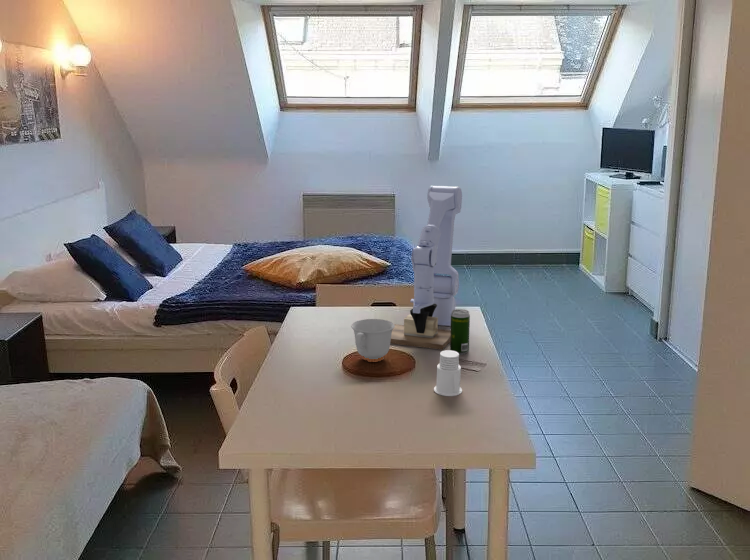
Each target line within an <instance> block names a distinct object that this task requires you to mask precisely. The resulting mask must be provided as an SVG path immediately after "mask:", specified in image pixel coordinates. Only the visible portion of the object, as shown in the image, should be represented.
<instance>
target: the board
mask: <svg viewBox="0 0 750 560" xmlns="http://www.w3.org/2000/svg"><path fill="white" fill-rule="evenodd" d="M393 324H394V325H395V327H394V328H393V329H392V334H391V341H390V345H391V344H392V345H402V346H409V347H418V348H424V349H425V348H426V349H432V350H433V349H434V350H441V351H444V349H445V348H446V347H447V346H448V345H449V344H450V334H451V329H443V328H438V333H437V334H436V335H435V336H434V337H433V338H427V337H419V336H410V335H404V324H397V323H393Z"/></svg>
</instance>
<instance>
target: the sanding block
mask: <svg viewBox="0 0 750 560" xmlns="http://www.w3.org/2000/svg"><path fill="white" fill-rule="evenodd" d="M403 325H404V335H410V336H419V337H427V338H433V337H434V336H435V335H436V334H437V333H438V329H439V328H438V326H439V325H438V317H429V316H428V317H427V320H426V326H425V331H424V333H417V331H416V327H415V323H414V320H413V317H412V315H411V314H407V316H406V317H404V318H403Z"/></svg>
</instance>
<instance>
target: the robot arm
mask: <svg viewBox="0 0 750 560" xmlns="http://www.w3.org/2000/svg"><path fill="white" fill-rule="evenodd" d="M426 194H427V202H428V207H429V208H430V209H429V214H428V218H427V219H428V221H427V225H424V226H423V227H422V229H421V232H420V235H419V239H418V242H417V245H416V247H414V248H413V249H412V251H411V256H410V257H411V264H412V271H413V274H414V275H413V278H414V279H413V280H414V282H413V283H414V284H413V298H411V299H410V303H413V306H412V308H411V309H410V311H409V313H410V314H411V315H412V317H413V320H414V323H415V327H416V331H417V333H424V331H425V326H426V320H427V317H428V316H429V317H438V326H444V327H445V326H446V327H451V313H452V310H456V298H455V296H456V295H457V294H458V292H459V289H460V280H459V279H460V278H459V277H460V275H459V271H457V270H456V268H454V267H453V266H452V253H453V245H454V244H453V242H454V241H453V240H454V231H455V230H454V229H455V228H454V227H455V220H456V215H458V214H459V213H461V210H462V203H463V192H462V188H461V187H460V186H459V185H458V186H451V185H450V186H449V185H448V186H447V185H435V184H434V185H430V186H429V187H428V190H427V193H426ZM439 274H440V275H439Z"/></svg>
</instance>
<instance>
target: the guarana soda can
mask: <svg viewBox="0 0 750 560" xmlns="http://www.w3.org/2000/svg"><path fill="white" fill-rule="evenodd" d="M470 320H471V314H470V311H469V310H467V309H464V308H463V309H461V308H458V309H456V308H455V310H452V313H451V326H450V330H451V334H450V342H449V346H450V347H449V350H452V351H456V352H458V353H459V356H463V355H466V354H468V353H469V351H470V327H471V326H470V324H471V323H470V322H471V321H470Z"/></svg>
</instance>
